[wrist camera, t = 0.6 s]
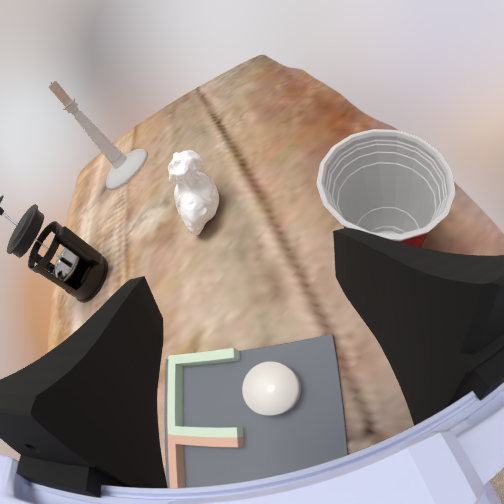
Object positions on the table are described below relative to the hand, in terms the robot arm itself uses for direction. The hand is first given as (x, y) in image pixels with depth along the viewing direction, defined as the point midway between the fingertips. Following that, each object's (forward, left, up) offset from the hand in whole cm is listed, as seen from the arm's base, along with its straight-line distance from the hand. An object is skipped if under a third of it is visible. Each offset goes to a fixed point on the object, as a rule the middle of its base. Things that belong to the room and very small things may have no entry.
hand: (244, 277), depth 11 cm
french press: (+19, +37, -19) cm, 46 cm away
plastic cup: (+10, -9, -19) cm, 23 cm away
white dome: (-2, +5, -18) cm, 19 cm away
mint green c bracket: (-2, +12, -19) cm, 22 cm away
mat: (-6, +8, -19) cm, 21 cm away
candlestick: (+49, +37, -19) cm, 64 cm away
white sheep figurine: (+25, +13, -19) cm, 34 cm away
